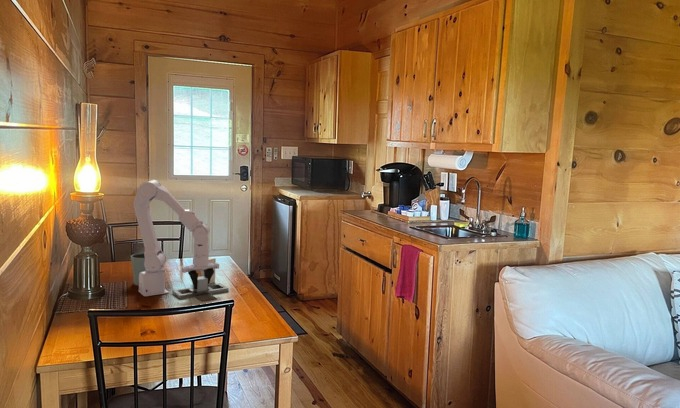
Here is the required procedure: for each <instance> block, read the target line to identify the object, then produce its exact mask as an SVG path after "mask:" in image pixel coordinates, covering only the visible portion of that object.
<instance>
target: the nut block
mask: <svg viewBox="0 0 680 408" xmlns="http://www.w3.org/2000/svg"><path fill="white" fill-rule="evenodd" d="M194 290H195V291H196V292H200V291H206V290H208V278H206V277H204V276H201V277H198V279H197V289H194Z"/></svg>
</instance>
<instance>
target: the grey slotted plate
mask: <svg viewBox="0 0 680 408" xmlns="http://www.w3.org/2000/svg"><path fill="white" fill-rule="evenodd" d="M229 290H230V289H229V287H228V286H226V285H224V284H222V283H218V282H217V283H214V284H213V283H211V284H209V286H208V290H206V291H200V292H196V291H195V290H194V288H193V286H192V287H185V288H179V289H178V288H177V289H172V292H171V293H172V295H173V296H175V297H176V298H177V299H178V300H184V299H190V298H196V296H202V295H208V294H211V295H215V294H222V293H228V292H229Z"/></svg>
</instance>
